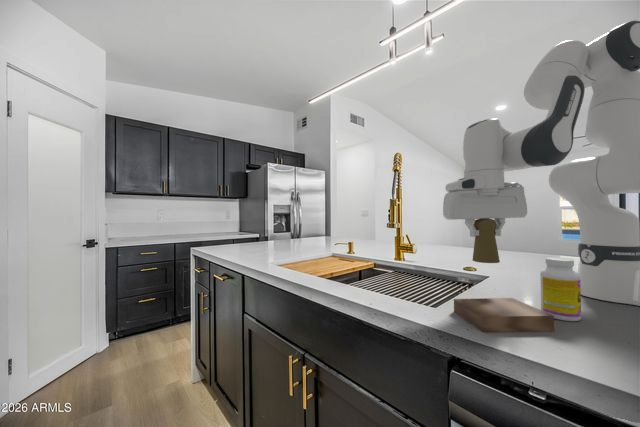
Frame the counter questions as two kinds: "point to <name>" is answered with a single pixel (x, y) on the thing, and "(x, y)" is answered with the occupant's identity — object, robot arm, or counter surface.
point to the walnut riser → (503, 315)
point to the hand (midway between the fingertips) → (485, 236)
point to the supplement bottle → (561, 290)
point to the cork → (485, 242)
